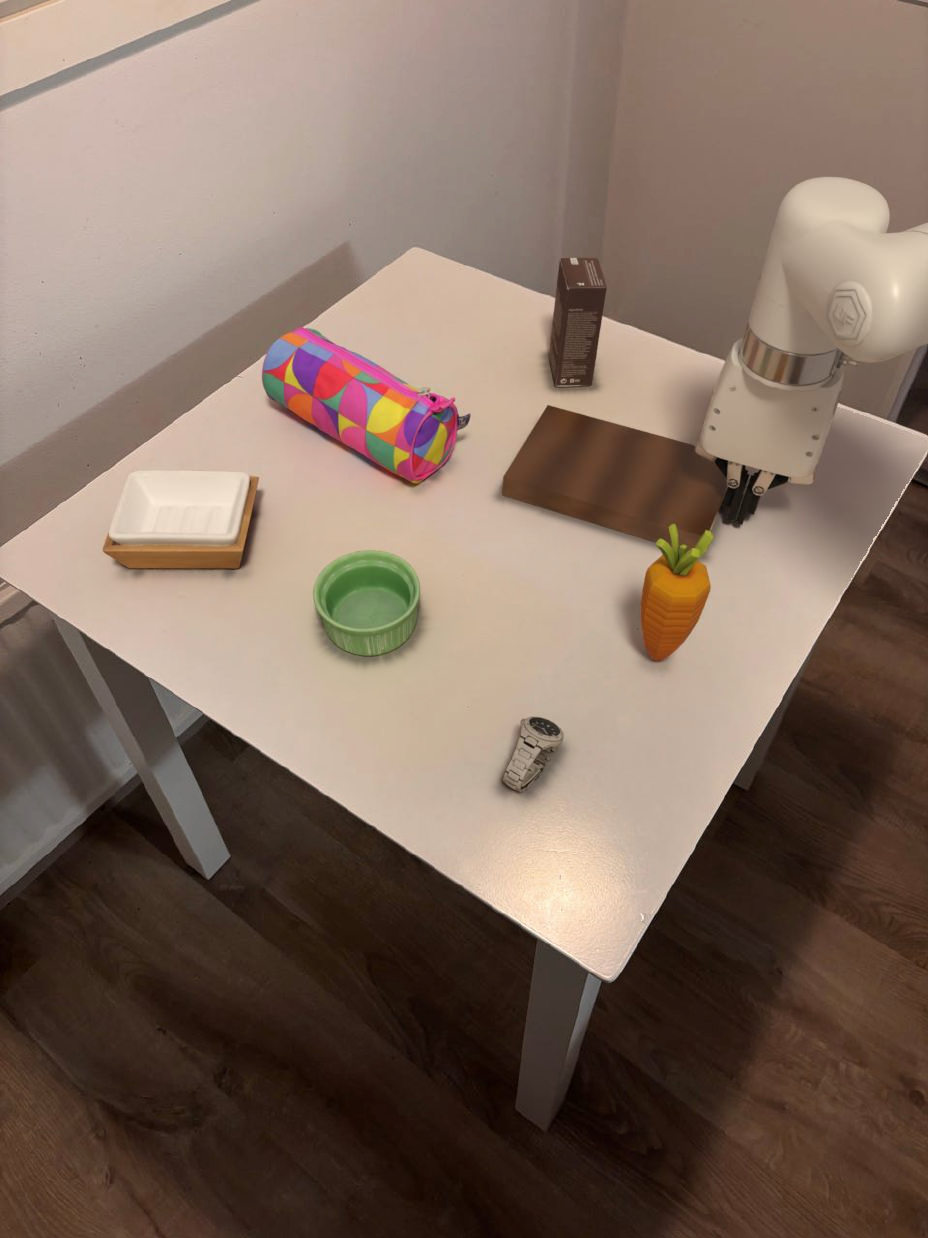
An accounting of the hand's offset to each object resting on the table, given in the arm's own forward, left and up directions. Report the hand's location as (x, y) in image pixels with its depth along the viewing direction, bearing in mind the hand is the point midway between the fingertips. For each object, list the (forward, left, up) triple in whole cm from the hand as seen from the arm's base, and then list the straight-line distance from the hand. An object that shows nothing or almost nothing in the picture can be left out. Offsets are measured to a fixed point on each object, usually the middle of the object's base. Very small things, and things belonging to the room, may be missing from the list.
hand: (737, 513), depth 85 cm
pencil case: (+38, +3, -1) cm, 38 cm away
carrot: (+2, +19, -1) cm, 19 cm away
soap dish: (+46, +23, -1) cm, 52 cm away
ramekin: (+26, +25, -1) cm, 36 cm away
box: (+22, -16, -1) cm, 27 cm away
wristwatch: (+8, +33, -1) cm, 34 cm away
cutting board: (+12, 0, -1) cm, 12 cm away
